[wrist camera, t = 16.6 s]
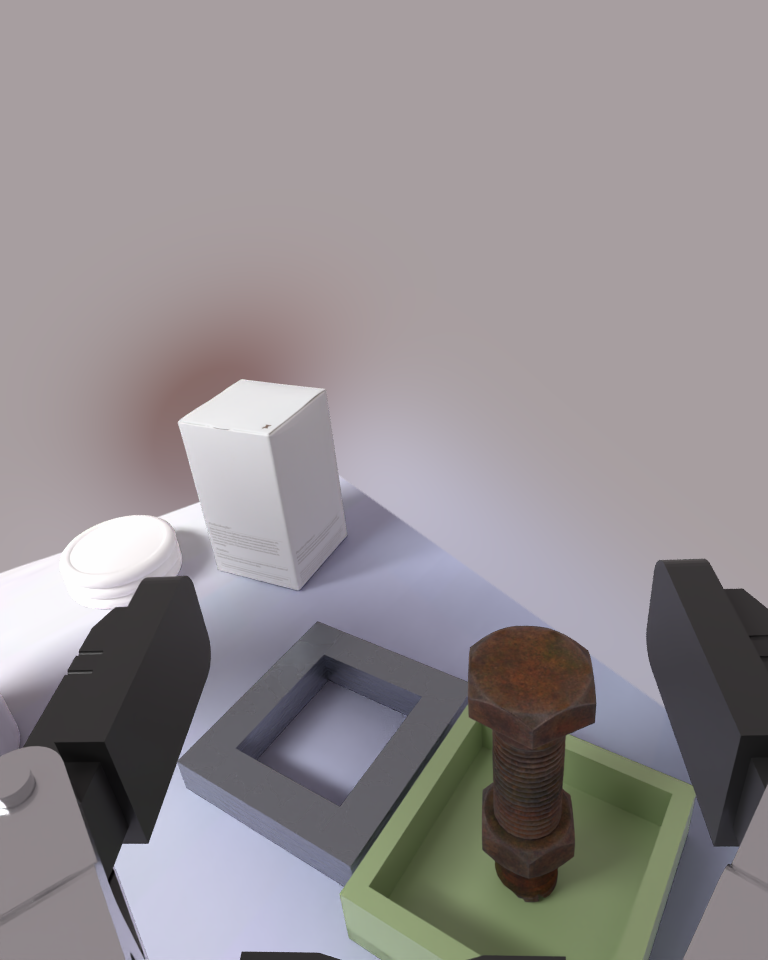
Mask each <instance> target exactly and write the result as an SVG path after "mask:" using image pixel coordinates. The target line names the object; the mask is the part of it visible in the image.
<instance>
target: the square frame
mask: <svg viewBox="0 0 768 960" xmlns="http://www.w3.org/2000/svg"><path fill="white" fill-rule="evenodd" d="M328 680H330V681H332V682H334V683H337V684H339V685H341V686H343V687H345V688H348V689H350V690H352V691H354V692H356V693H359V694H361V695H363V696H365V697H368V698H370V699H372V700H374V701H376V702H379V703H381V704H383V705H385V706H387V707H390V708H392V709H394V710H396V711H399V712H401V713H403V714H405V715H407V718H406V719H405V720H404V722H403V723H402V724H401V726H400V727H399V728H398V730H397V731H396V733H395V734H394V735H393V737H392V738H391V739H390V741H389V742H388V743H387V745H386V746H385V747H384V749H383V750H382V751H381V753H380V754H379V755H378V757H377V758H376V759H375V761H374V762H373V763H372V765H371V766H370V767H369V769H368V770H367V771H366V773H365V774H364V775H363V777H362V778H361V779H360V781H359V782H358V783H357V785H356V786H355V787H354V789H353V790H352V791H351V793H350V794H349V795H348V797H347V798H346V799H345V801H344V802H343V803H342V805H341V806H340V807H339V806H338V805H336V804H334V803H332V802H331V801H329V800H327V799H325V798H323V797H322V796H320V795H318V794H316V793H314V792H313V791H311V790H309V789H307V788H306V787H304V786H302V785H300V784H298V783H297V782H295V781H293V780H291V779H289V778H288V777H286V776H284V775H282V774H280V773H279V772H277V771H275V770H273V769H272V768H270V767H268V766H266V765H264V764H263V763H261V762H259V761H257V759H258V757H259V756H260V755H261V754H262V753H263V752H264V751H265V750H266V749H267V747H268V746H269V745H270V744H271V743H272V742H273V741H274V740H275V739H276V737H277V736H278V735H279V734H280V733H281V732H282V731H283V730H284V729H285V728H286V726H287V725H288V724H289V723H290V722H291V721H292V720H293V719H294V718H295V716H296V715H297V714H298V713H299V712H300V711H301V710H302V709H303V708H304V706H305V705H306V704H307V703H308V702H309V701H310V700H311V699H312V698H313V696H314V695H315V694H316V693H317V692H318V691H319V690H320V689H321V688H322V687H323V685H324V684H325V683H326V682H327V681H328ZM467 705H468V682H466V681H464V680H462V679H459V678H457V677H454V676H452V675H449V674H447V673H444V672H442V671H439V670H437V669H434V668H432V667H429V666H427V665H424V664H422V663H419V662H417V661H414V660H412V659H410V658H407V657H405V656H402V655H400V654H397V653H395V652H392V651H390V650H387V649H385V648H382V647H380V646H377V645H375V644H372V643H370V642H367V641H365V640H363V639H360V638H358V637H355V636H353V635H350V634H348V633H345V632H343V631H340V630H338V629H335V628H333V627H330V626H328V625H325V624H323V623H320V622H318V621H317V622H316V623H315V624H314V625H313V626H312V627H311V628H310V629H309V630H308V631H307V632H306V633H305V634H304V635H303V636H302V637H301V638H300V639H299V640H298V641H297V642H296V643H295V644H294V645H293V646H292V647H291V648H290V649H289V650H288V651H287V652H286V653H285V654H284V655H283V656H282V657H281V658H280V659H279V660H278V661H277V662H276V663H275V664H274V665H273V666H272V667H271V668H270V669H269V670H268V671H267V672H266V673H265V674H264V675H263V676H262V677H261V678H260V679H259V680H258V681H257V682H256V683H255V684H254V685H253V686H252V687H251V688H250V689H249V690H248V691H247V692H246V693H245V694H244V695H243V696H242V697H241V698H240V699H239V700H238V701H237V702H236V703H235V704H234V705H233V706H232V707H231V708H230V709H229V710H228V711H227V712H226V713H225V714H224V715H223V716H222V717H221V718H220V719H219V720H218V721H217V722H216V723H215V724H214V725H213V726H212V727H211V728H210V729H209V730H208V731H207V732H206V733H205V734H204V735H203V736H202V737H201V738H200V739H199V740H198V741H197V742H196V743H195V744H194V745H193V746H192V747H191V748H190V749H189V750H188V751H187V752H186V753H185V754H184V755H183V756H182V757H181V758H180V759H179V760H178V761H177V763H178V766H179V769H180V771H181V774H182V777H183V780H184V782H185V785H186V788H188V789H189V790H191V791H192V792H194V793H196V794H197V795H199V796H200V797H202V798H204V799H205V800H207V801H208V802H210V803H212V804H213V805H215V806H216V807H218V808H220V809H221V810H223V811H224V812H226V813H228V814H229V815H231V816H232V817H234V818H236V819H237V820H239V821H240V822H242V823H243V824H245V825H247V826H248V827H250V828H251V829H253V830H255V831H256V832H258V833H259V834H261V835H263V836H264V837H266V838H267V839H269V840H271V841H272V842H274V843H275V844H277V845H279V846H280V847H282V848H283V849H285V850H287V851H288V852H290V853H291V854H293V855H295V856H296V857H298V858H299V859H301V860H303V861H304V862H306V863H307V864H309V865H310V866H312V867H314V868H315V869H317V870H318V871H320V872H322V873H323V874H325V875H326V876H328V877H330V878H331V879H333V880H334V881H336V882H338V883H339V884H341V885H342V886H344V887H345V885H346V884H347V882H348V881H349V879H350V878H351V876H352V875H353V873H354V872H355V870H356V869H357V867H358V866H359V864H360V863H361V861H362V860H363V859H364V857H365V856H366V854H367V853H368V851H369V850H370V848H371V847H372V845H373V844H374V842H375V841H376V839H377V838H378V836H379V835H380V833H381V832H382V830H383V829H384V827H385V826H386V825H387V823H388V822H389V820H390V819H391V817H392V816H393V814H394V813H395V811H396V810H397V808H398V807H399V805H400V804H401V802H402V801H403V799H404V798H405V796H406V795H407V793H408V792H409V791H410V789H411V788H412V786H413V785H414V783H415V782H416V780H417V779H418V777H419V776H420V774H421V773H422V771H423V770H424V768H425V767H426V765H427V764H428V762H429V761H430V760H431V758H432V757H433V755H434V754H435V752H436V751H437V749H438V748H439V746H440V745H441V743H442V742H443V740H444V739H445V737H446V736H447V734H448V733H449V731H450V730H451V728H452V727H453V726H454V724H455V723H456V721H457V720H458V718H459V717H460V715H461V714H462V712H463V711H464V709H465V708H466V706H467Z"/></svg>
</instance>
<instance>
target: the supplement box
mask: <svg viewBox="0 0 768 960" xmlns="http://www.w3.org/2000/svg"><path fill="white" fill-rule="evenodd" d="M178 425H179V428H180V431H181V435H182V438H183V442H184V446H185V449H186V453H187V457H188V460H189V464H190V467H191V471H192V475H193V479H194V482H195V486H196V490H197V493H198V497H199V500H200V504H201V508H202V512H203V515H204V519H205V523H206V526H207V530H208V534H209V537H210V541H211V545H212V548H213V552H214V556H215V560H216V564H217V567H218V570H220V571H224V572H228V573H232V574H236V575H240V576H244V577H247V578H251V579H255V580H259V581H263V582H267V583H271V584H275V585H279V586H283V587H286V588H290V589H294V590H300V589H301V588H302V587H303V586H304V584H305V583H306V582H307V581H308V580H309V579H310V578H311V576H312V575H313V574H314V573H315V572H316V571H317V570H318V568H319V567H320V566H321V565H322V564H323V563H324V562H325V560H326V559H327V558H328V557H329V556H330V555H331V554H332V552H333V551H334V550H335V549H336V548H337V547H338V545H339V544H340V543H341V542H342V541H343V540H344V538H345V537H346V536H347V528H346V522H345V515H344V508H343V502H342V495H341V488H340V482H339V475H338V468H337V462H336V455H335V448H334V442H333V435H332V428H331V421H330V414H329V408H328V400H327V393H326V389H319V388H310V387H302V386H293V385H284V384H275V383H267V382H259V381H251V380H244V379H241V380H240V381H238V382H237V383H235V384H233V385H232V386H230V387H229V388H227V389H226V390H224V391H223V392H222V393H220V394H219V395H217V396H216V397H215V398H213V399H211V400H210V401H208V402H207V403H205V404H203V405H202V406H201V407H198V408H197V409H195V410H194V411H192V412H191V413H189V414H188V415H186V416H185V417H183V418H182V419H180V421H179V422H178Z"/></svg>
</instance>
